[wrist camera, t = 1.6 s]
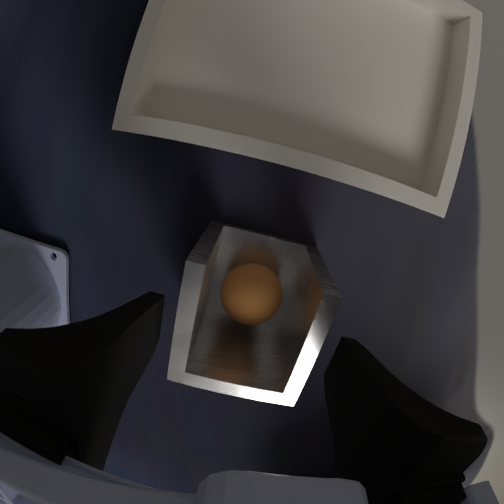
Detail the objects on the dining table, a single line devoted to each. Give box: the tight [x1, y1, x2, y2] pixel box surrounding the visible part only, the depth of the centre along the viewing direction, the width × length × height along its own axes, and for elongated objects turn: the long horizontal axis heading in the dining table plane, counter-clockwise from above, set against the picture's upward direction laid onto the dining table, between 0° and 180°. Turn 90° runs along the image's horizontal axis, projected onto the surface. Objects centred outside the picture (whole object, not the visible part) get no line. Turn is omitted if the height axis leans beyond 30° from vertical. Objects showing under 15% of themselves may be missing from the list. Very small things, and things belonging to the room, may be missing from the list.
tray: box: [112, 0, 482, 218], centre depth 12 cm, size 16×12×2 cm
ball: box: [220, 263, 283, 325], centre depth 16 cm, size 3×3×3 cm
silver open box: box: [167, 220, 342, 407], centre depth 15 cm, size 6×6×6 cm
